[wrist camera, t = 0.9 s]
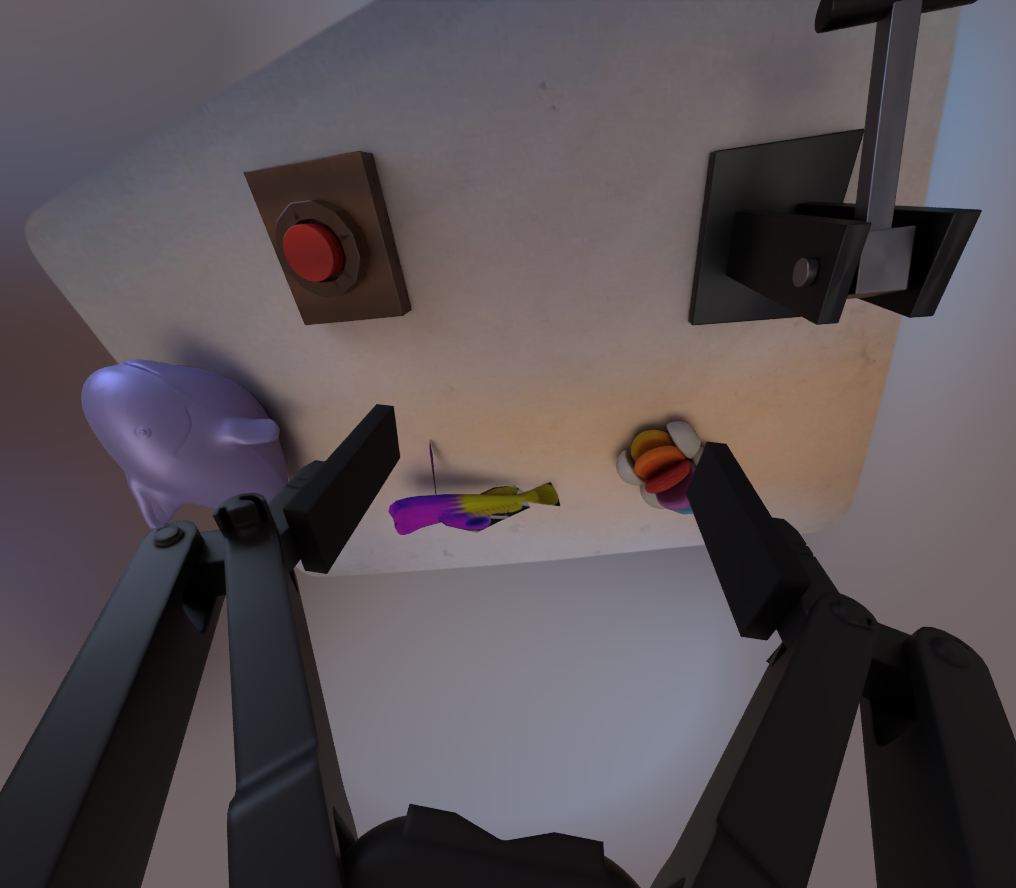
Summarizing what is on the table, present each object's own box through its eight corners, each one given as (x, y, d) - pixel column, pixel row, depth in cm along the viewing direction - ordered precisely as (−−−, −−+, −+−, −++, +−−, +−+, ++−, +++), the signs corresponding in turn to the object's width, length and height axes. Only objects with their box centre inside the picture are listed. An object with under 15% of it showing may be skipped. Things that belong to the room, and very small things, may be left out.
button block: (261, 172, 32) (225, 170, 29) (372, 153, 30) (348, 148, 27) (317, 318, 38) (293, 331, 35) (411, 309, 37) (395, 321, 33)
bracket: (709, 152, 27) (823, 122, 15) (853, 130, 26) (1108, 77, 14) (687, 321, 34) (755, 395, 22) (802, 312, 32) (944, 386, 20)
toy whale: (203, 311, 35) (2, 431, 26) (369, 486, 50) (280, 601, 41) (154, 333, 42) (-16, 433, 33) (311, 480, 57) (224, 576, 48)
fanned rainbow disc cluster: (673, 402, 38) (693, 442, 32) (725, 462, 41) (752, 509, 35) (604, 448, 42) (610, 491, 36) (656, 500, 45) (669, 548, 39)
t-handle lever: (809, 13, 18) (843, -36, 16) (959, -17, 17) (1019, -74, 15) (784, 304, 21) (810, 298, 19) (912, 293, 20) (956, 285, 18)
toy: (382, 445, 44) (366, 502, 36) (546, 424, 46) (567, 475, 37) (404, 519, 51) (395, 582, 42) (547, 499, 52) (566, 557, 44)
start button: (287, 226, 31) (273, 228, 29) (333, 219, 30) (321, 221, 28) (308, 280, 33) (295, 284, 31) (350, 274, 32) (340, 278, 31)
